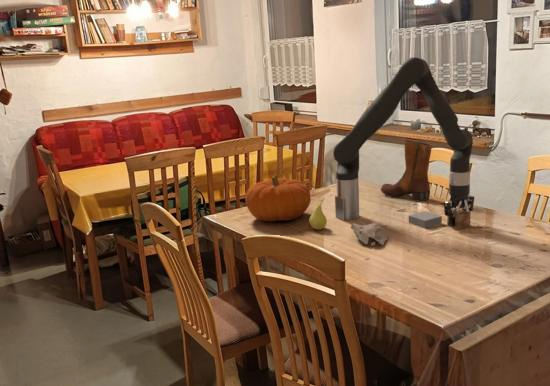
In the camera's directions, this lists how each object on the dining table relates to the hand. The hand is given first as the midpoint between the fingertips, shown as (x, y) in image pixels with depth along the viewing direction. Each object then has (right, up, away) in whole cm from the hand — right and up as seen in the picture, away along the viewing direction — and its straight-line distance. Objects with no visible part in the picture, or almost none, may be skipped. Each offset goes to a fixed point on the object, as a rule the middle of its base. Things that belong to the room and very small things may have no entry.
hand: (458, 224), depth 215 cm
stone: (-36, -6, -7) cm, 37 cm away
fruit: (-54, -3, +9) cm, 54 cm away
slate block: (-11, 0, +7) cm, 13 cm away
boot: (-10, +10, +44) cm, 47 cm away
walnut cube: (0, -1, 0) cm, 1 cm away
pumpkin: (-70, +1, +26) cm, 74 cm away
